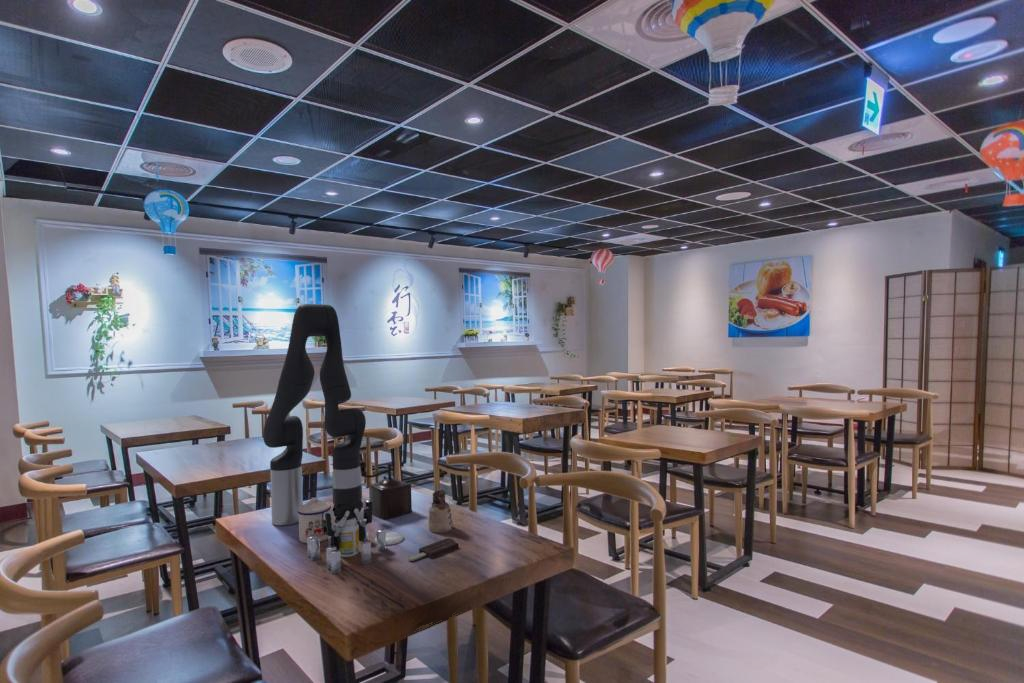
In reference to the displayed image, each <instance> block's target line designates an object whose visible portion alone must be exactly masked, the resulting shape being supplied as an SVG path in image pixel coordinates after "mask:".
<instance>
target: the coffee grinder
mask: <svg viewBox="0 0 1024 683" xmlns="http://www.w3.org/2000/svg"><path fill="white" fill-rule="evenodd" d="M366 468H367V463H366V461H364V460H360V469H361V477H363V478H366V479H371V478H376V477H379V476H381V475H383V474H386V473H387V472H388V476H387V477H386V476H385V475H384V476H383V479H382V480H380V481H377V482H376V483H371V484H369V487H368V491H369V492H368V493H369V494H368V495H369V496H368V497H369V501H371V502H372V516H375V517H376V518H378V519H380V520H383V521H385V520H390V519H394V518H398V517H401V516H405V515H407V514H411V513H412V512H413V510H412V508H413V505H412V504H413V503H412V485H411V484H410V483H408V482H405V481H403V480H400V479H397V478H394V477H392V470H393V468H392V463H391V462H388V463H387V467H386V469H384V470H382V471H379V472H376V473H373V474H369V475H368V474H367V473H368V472H367V471H366V470H367V469H366Z"/></svg>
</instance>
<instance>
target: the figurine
mask: <svg viewBox="0 0 1024 683" xmlns="http://www.w3.org/2000/svg"><path fill="white" fill-rule="evenodd" d="M451 509H452V508H451V506H450V504H449V503H448V502H446V490H444V489H443V488H438V489H436V490H434V492H433V493H432V502H431V506H430V507H429V511H428V512H429V513H428V514H429V515H428V530H429V532H432V533H436V534H441V533H448V532H450V531H452V529H453V518H452V517H453V516H452V511H451Z"/></svg>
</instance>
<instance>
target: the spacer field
mask: <svg viewBox="0 0 1024 683" xmlns="http://www.w3.org/2000/svg"><path fill="white" fill-rule="evenodd" d="M375 533H376V537H377V544H376V550H377V551H385V550H386V549H387V545H386V533H387V531H386V529H385V528H380V529H377V530H376V532H375ZM369 537H370V536H369V523H368V524H367V525H366V537H365V538H364V541H362V542H361V541H359V543H360V547H361V549H360V550H361V564H363V565H367V564H368V565H369V564H371V563H372V542H371V541H370V538H369ZM327 542H328V543H327V546H326V548H325V551H326V554H325V555H326V556H325V557H326V569H327V570H330V574H333V575H337V574H339V573H341V572H342V557H341V551H340V550H336V546H331V536H328V539H327ZM306 544H307V545H306V546H307V557H308V558H310V560H311V561H316V560H319V559H321V542H320V538H317V536H316V535H311V536H308V537H307V543H306Z"/></svg>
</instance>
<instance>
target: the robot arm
mask: <svg viewBox="0 0 1024 683" xmlns="http://www.w3.org/2000/svg"><path fill="white" fill-rule="evenodd" d="M309 337H324V340H325V342H326V351H325V354H324V358H323V361H322V364H321V365H320V369H319V382H320V386H321V389H322V392H323V397H324V419H323V421H324V422H323V425H324V429H325V432H326V433H327V434H328V436H330V437H332V438H340V437H346V439H345V440H344V441H343V442H342V443H340V444H338V445H335V446H334V448H333V449H332V454H331V455H332V475H331V482H332V484H331V486H332V504H333V507H332V508H331V509H332V511H329V512H323V513H322V523H323V533H324V534H325V535H328V536H331V546H336V550H339V549H340V543H339V536H338V534H339V532H340V530H341V528H343V526H344V523H345V521H346V520H349V519H352V518H355V517H356V523H355V524H357V525H358V527H359V542H360V541H361V542H362V541H364V538H365V537H366V525H367V524H368V525H369V524H372V521H373V515H372V502H371V501H370V499H369V500H368V499H364V501H362V499H363V486H362V484H363V483H362V476H361V469H360V461H361V456H360V455H361V453H360V452H361V451H360V450H361V447H362V442H363V437H364V433H365V430H366V423H367V421H366V416H365V413H364V412H363V410H361V409H360V408H356V407H352V408H347V409H339V405H342V404H345V403H347V402H348V401H349V400H350V399H351V397H352V392H351V387H350V384H349V380H348V377H347V373H346V370H345V369H346V368H345V364H344V359H343V356H344V355H343V348H342V339H341V331H340V323H339V317H338V314H337V311H336V309H335V308H334V307H333V306H332V305H331V304H317V303H315V304H314V303H303V304H300V305H298V306H297V308H296V309H295V311H294V314H293V318H292V324H291V331H290V336H289V342H288V347H287V350H286V351H287V352H286V356H285V359H284V362H283V366H282V369H281V372H280V375H279V380H278V383H277V384H278V385H277V387H276V392H275V396H274V400H273V402H272V405H271V407H270V411H269V413H268V415H267V418H266V420H265V423H264V427H263V432H262V436H263V437H262V438H263V443H264V445H265V446H266V447H268V448H270V449H272V448H281V447H285V449H284V450H283V451H282V452H281V453H279V454H278V455H276V456H274V457H273V458H272V459H271V460H270V461H269V463H270V464H269V470H270V471H269V472H270V473H269V475H270V498H271V499H270V501H271V502H270V505H271V524H272V525H274V526H289V525H294V524H297V523H299V513H298V509H299V507H301V506H302V505H304V502H303V500H304V499H303V498H304V497H303V473H302V472H303V465H302V461H303V443H304V440H303V439H304V427H303V423H302V420H301V419H300V417H298V416H297V415H289V414H290V413H291V412H292V410H293V409H295V408H296V407H297V406H298V405H299V404H300V403H301V402H303V400H304V399H305V398H306V397H307V396H308V394H309V393H310V391H311V388H312V384H313V381H314V378H315V374H316V373H315V367H314V365H313V362H312V361H311V358H310V356H309V355H308V352H307V349H306V348H307V347H306V346H307V342H308V341H307V340H308V339H309ZM362 509H363V515H362V514H361V511H362ZM333 516H334V519H333ZM332 520H333V521H332ZM331 523H332V524H333V526H332V524H331ZM361 542H360V543H361Z"/></svg>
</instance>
